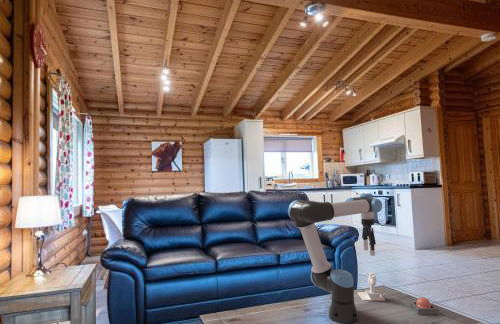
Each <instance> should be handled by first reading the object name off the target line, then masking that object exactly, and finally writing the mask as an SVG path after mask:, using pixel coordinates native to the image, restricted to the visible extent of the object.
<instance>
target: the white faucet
mask: <svg viewBox="0 0 500 324" xmlns="http://www.w3.org/2000/svg"><path fill="white" fill-rule="evenodd" d="M375 274H376V273H375V272H372V271H371V272H369V274H368V278H367V281H368V282H367V283H368V286H369V289H364V292H366V293H367V295H368V297H369V298H370V299H378V298H379V296H380V294H381V293H380V291H379V290H378V289H377V288H376V287H375V286H376V284H377V276H376V275H375Z"/></svg>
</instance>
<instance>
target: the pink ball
mask: <svg viewBox="0 0 500 324" xmlns="http://www.w3.org/2000/svg"><path fill="white" fill-rule="evenodd" d="M415 302H416V306H417V307H419V308H431V304H432V303H431V302H430V300H429V299H428V298H427V297H423V296H422V297H419V298H417V300H416V301H415ZM430 303H431V304H430Z"/></svg>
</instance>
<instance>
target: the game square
mask: <svg viewBox="0 0 500 324" xmlns="http://www.w3.org/2000/svg"><path fill="white" fill-rule="evenodd" d="M357 294H358V296H359V297H360V299H361V300H362V301H363V302H365V301H367V302H368V301H369V302H371V301H372V302H374V301H375V302H380V301H382V302H385V301H386V298H385V297H384V296H383V295H382V294H381V293H380V296H379V298H378V299H370V298H369V297H368V295H367V293H366V291H357Z"/></svg>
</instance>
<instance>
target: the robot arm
mask: <svg viewBox="0 0 500 324" xmlns="http://www.w3.org/2000/svg"><path fill="white" fill-rule="evenodd" d="M382 209H383V202H382V200H381V199H378V198H374V195H373V194H372V193H368V192H367V193H365V192H364V193H360V194H359V197H348V198H346V199H345V201H341V202H333V203H331V202H330V201H326V202H324V201H323V202H322V201H315V200H305V199H304V200H303V199H296V200H293V201H291V203H289V206H288V209H287V215H288V217H289V218H290V220H292V221H294V224H295V227H296V228H298V229H299V231H300V233H301V235H302V239H303V241H304V245H305V247H306V250H307V253H308V255H309V259H310V262H311V265H312V267H311V268H310V269H311V272H310V273H311V274H310V280H311V283H312V284H313V285H314V286H315V287H316V288H318V289H320V290H323V291H326V292H328V293H329V294H330V296H331V303H330V306H329V310H328V317H329V319H330V320H332V321H334V322H337V323H340V324H354V323H355V322H356V323H357V322H358V320H359V313H358V309H357V307H356V304H355V285H354V284H355V283H354V277H353V274H352V273H351V272H349V271H347V270H345V269H334V268H333V266H332V262H329V261H328V260H327V257H326V254H325V250H324V248H323V245H322V241H321V239H320V236H319V233H318V230H317V227H316V225H315V224H316V223H321V222H322V223H323V222H326V221H331V220H333V219H334V218H339V217H347V216H353V215H359V214H360V218H361V220H360V223H361V225H362V236H361V238H362V240H363V241H362V243H363V245H362V247H363V251H369V256H372V257H373V256H376V251H375V245H376V244H377V242H376V238H375V231H374V227H372V226H374V225H375V219H374V218H375V213H379V212H381V211H382Z"/></svg>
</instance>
